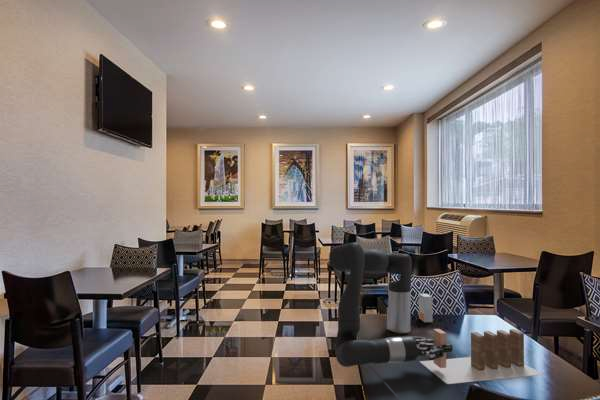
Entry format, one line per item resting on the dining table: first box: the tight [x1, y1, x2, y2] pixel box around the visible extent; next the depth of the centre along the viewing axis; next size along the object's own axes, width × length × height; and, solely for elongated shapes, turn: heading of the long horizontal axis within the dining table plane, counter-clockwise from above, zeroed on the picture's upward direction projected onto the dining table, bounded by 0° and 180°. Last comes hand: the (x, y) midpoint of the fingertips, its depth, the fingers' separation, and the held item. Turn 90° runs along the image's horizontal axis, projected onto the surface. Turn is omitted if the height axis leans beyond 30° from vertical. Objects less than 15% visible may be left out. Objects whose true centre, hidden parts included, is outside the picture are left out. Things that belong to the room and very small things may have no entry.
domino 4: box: [509, 329, 525, 367], centre depth 122 cm, size 2×4×11 cm, turn 11°
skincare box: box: [418, 293, 434, 323], centre depth 170 cm, size 6×4×12 cm
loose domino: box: [432, 328, 447, 368], centre depth 116 cm, size 2×4×11 cm, turn 11°
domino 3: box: [496, 329, 511, 368], centre depth 121 cm, size 2×4×11 cm, turn 11°
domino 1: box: [470, 331, 485, 371], centre depth 119 cm, size 2×4×11 cm, turn 11°
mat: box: [419, 356, 543, 385], centre depth 119 cm, size 34×16×1 cm, turn 101°
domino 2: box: [483, 330, 498, 369], centre depth 120 cm, size 2×4×11 cm, turn 11°
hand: (447, 345), depth 117 cm, fingers closed on loose domino, 4 cm apart
